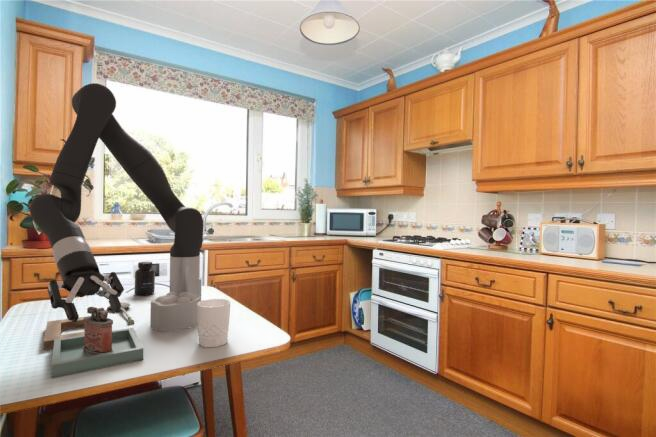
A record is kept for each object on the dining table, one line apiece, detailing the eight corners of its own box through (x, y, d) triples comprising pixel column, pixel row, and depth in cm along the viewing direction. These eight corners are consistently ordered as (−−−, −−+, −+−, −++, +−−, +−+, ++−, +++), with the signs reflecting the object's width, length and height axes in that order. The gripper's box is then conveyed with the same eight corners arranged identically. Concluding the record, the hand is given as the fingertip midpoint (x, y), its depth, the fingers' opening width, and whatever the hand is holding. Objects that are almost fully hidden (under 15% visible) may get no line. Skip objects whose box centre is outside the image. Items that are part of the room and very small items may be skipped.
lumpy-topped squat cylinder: (146, 325, 102) (147, 294, 102) (190, 315, 112) (191, 287, 111) (162, 334, 95) (163, 301, 95) (208, 323, 105) (208, 293, 104)
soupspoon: (128, 308, 122) (105, 312, 118) (127, 298, 122) (105, 302, 117) (143, 323, 105) (117, 328, 100) (142, 311, 104) (116, 316, 100)
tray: (133, 337, 92) (133, 327, 92) (143, 359, 79) (143, 348, 79) (54, 350, 83) (54, 339, 83) (51, 378, 70) (51, 365, 70)
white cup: (201, 337, 94) (201, 298, 94) (232, 336, 95) (232, 298, 94) (192, 348, 86) (193, 307, 86) (226, 348, 87) (227, 307, 86)
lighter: (116, 353, 81) (117, 308, 81) (101, 358, 78) (101, 312, 78) (94, 346, 85) (94, 303, 84) (79, 351, 82) (79, 307, 81)
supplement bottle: (146, 296, 133) (146, 264, 133) (130, 295, 135) (130, 263, 134) (158, 292, 140) (159, 261, 140) (143, 291, 141) (143, 260, 141)
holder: (100, 321, 104) (100, 314, 104) (104, 340, 90) (105, 332, 90) (47, 328, 97) (47, 321, 97) (43, 350, 83) (43, 341, 83)
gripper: (43, 252, 80) (65, 313, 74) (111, 247, 92) (135, 299, 86) (34, 273, 83) (55, 333, 77) (101, 265, 95) (123, 317, 89)
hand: (97, 315), depth 82 cm, fingers open, 8 cm apart
